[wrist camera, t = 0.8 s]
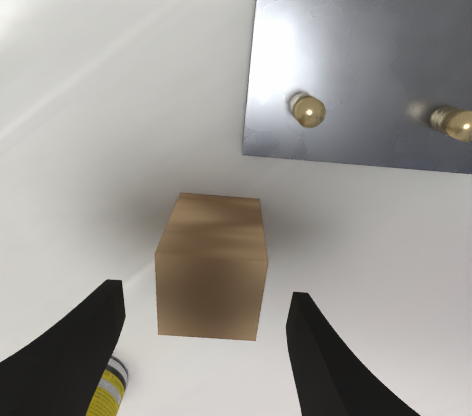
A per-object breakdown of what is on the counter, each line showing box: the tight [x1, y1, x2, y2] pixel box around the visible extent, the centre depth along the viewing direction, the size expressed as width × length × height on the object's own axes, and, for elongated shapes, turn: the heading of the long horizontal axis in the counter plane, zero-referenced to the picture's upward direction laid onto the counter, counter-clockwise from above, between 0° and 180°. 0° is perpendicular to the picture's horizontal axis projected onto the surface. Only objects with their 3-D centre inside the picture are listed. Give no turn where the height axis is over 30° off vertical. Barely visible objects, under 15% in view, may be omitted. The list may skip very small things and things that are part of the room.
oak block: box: [155, 193, 268, 341], centre depth 16 cm, size 4×4×6 cm
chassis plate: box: [242, 0, 472, 174], centre depth 13 cm, size 12×12×3 cm
